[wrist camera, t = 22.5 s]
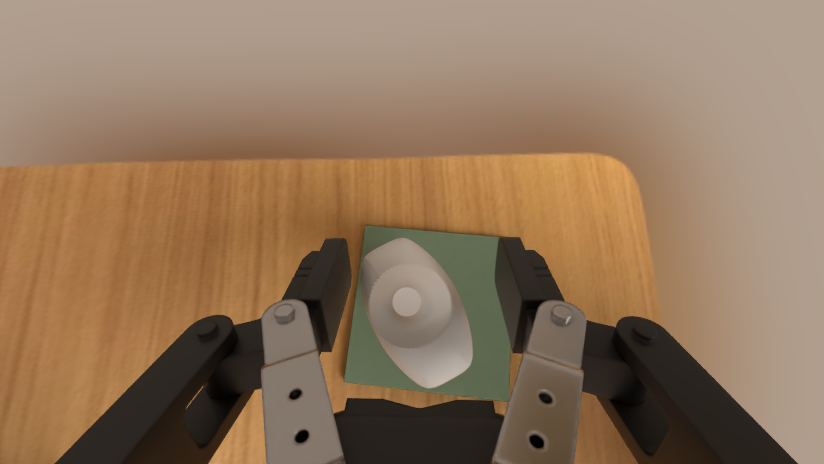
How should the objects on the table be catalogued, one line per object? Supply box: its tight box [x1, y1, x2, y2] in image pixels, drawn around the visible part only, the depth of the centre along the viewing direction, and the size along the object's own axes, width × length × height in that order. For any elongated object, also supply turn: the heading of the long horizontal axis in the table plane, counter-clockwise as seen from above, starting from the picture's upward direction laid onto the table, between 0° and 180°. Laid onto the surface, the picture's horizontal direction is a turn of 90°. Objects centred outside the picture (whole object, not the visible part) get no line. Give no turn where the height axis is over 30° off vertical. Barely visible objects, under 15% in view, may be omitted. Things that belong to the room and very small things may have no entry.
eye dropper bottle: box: [361, 238, 473, 388], centre depth 14 cm, size 4×6×12 cm
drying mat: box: [344, 225, 511, 402], centre depth 21 cm, size 9×9×1 cm
